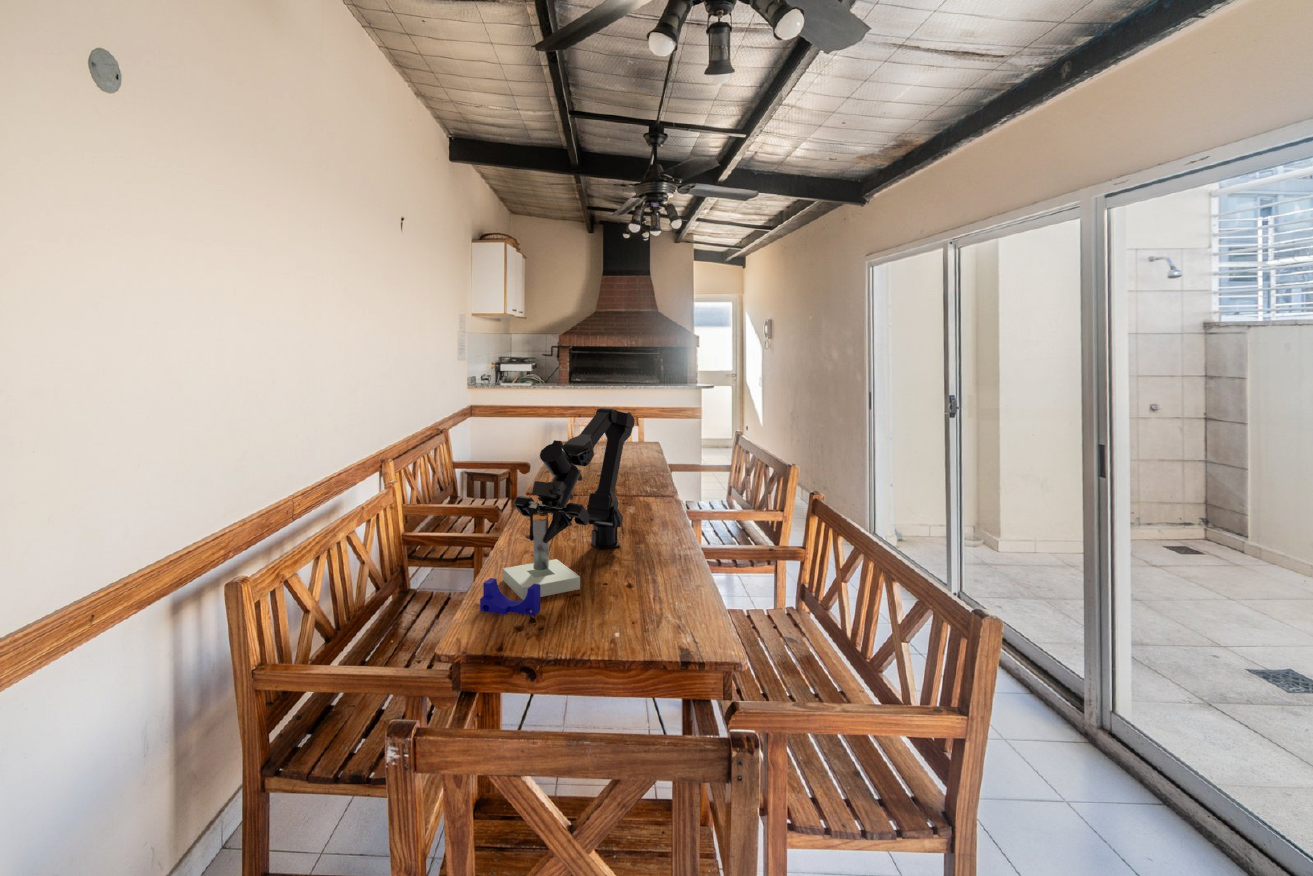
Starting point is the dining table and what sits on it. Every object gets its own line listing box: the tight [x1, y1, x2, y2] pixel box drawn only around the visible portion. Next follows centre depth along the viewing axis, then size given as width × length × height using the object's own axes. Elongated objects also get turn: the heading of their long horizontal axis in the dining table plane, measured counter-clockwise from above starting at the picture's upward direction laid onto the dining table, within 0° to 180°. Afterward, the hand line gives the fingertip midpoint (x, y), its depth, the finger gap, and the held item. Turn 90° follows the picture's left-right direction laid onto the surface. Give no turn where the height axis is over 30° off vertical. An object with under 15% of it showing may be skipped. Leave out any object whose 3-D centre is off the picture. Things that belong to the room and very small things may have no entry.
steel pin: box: [532, 513, 550, 570], centre depth 151 cm, size 4×4×13 cm
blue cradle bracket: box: [479, 577, 541, 617], centre depth 137 cm, size 12×4×6 cm, turn 75°
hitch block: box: [502, 558, 581, 601], centre depth 152 cm, size 14×14×3 cm
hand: (537, 541), depth 149 cm, fingers closed on steel pin, 4 cm apart
